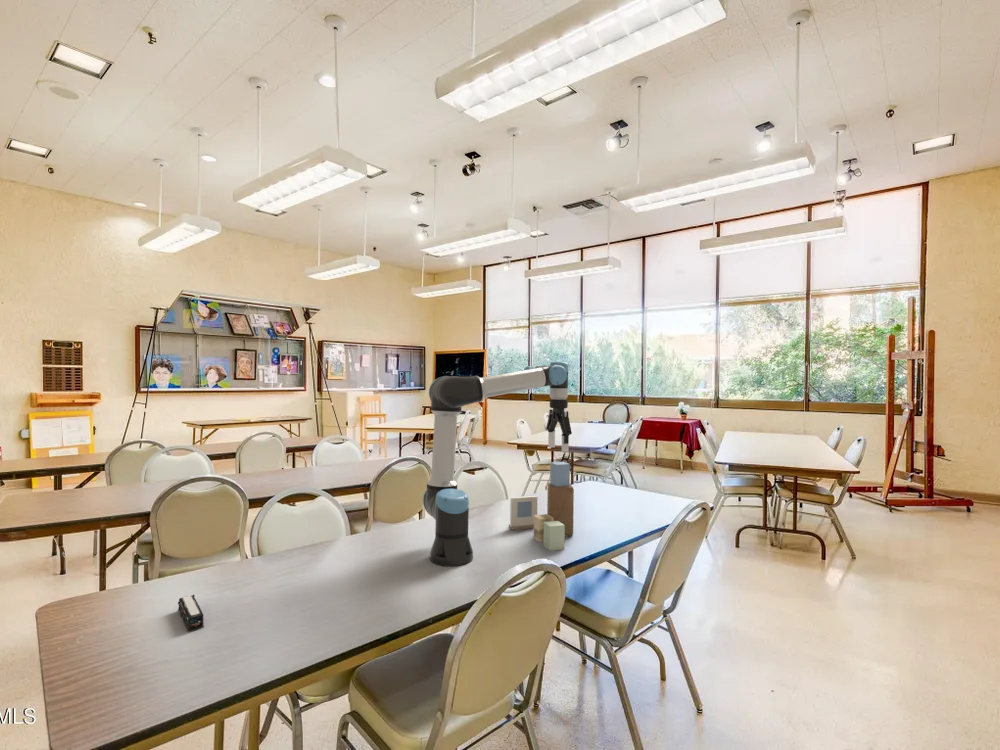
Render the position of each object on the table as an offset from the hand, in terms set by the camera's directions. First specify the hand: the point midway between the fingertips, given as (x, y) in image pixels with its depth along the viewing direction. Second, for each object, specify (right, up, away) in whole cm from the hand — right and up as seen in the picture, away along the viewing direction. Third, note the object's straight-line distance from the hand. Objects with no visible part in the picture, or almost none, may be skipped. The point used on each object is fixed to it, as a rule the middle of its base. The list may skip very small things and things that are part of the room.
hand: (558, 449), depth 210 cm
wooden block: (+1, -35, -1) cm, 35 cm away
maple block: (-7, -35, -9) cm, 36 cm away
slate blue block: (+1, -15, 0) cm, 15 cm away
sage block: (-4, -35, -19) cm, 39 cm away
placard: (-14, -35, +6) cm, 38 cm away
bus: (-105, -34, -81) cm, 137 cm away
